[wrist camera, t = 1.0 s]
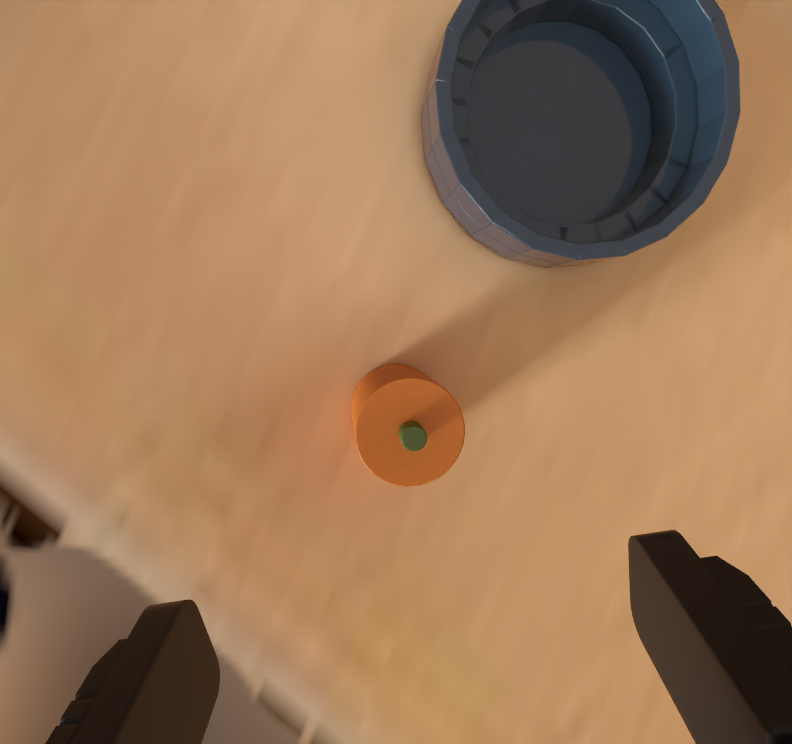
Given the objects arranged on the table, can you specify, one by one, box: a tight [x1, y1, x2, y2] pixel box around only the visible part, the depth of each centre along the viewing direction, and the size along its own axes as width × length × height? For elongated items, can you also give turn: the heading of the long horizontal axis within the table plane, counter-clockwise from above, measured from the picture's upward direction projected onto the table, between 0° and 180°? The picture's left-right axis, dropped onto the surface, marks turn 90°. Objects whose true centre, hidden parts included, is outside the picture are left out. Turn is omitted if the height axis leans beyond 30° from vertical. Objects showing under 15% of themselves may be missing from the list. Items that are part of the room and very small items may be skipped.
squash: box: [351, 364, 465, 486], centre depth 28 cm, size 5×5×8 cm
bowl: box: [421, 0, 740, 268], centre depth 29 cm, size 16×16×5 cm
